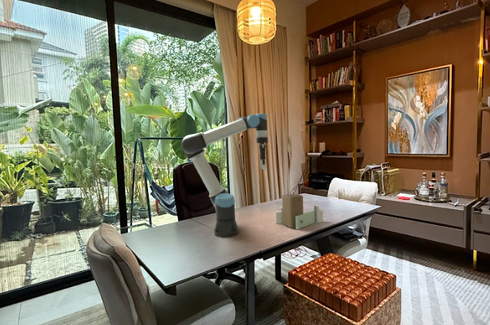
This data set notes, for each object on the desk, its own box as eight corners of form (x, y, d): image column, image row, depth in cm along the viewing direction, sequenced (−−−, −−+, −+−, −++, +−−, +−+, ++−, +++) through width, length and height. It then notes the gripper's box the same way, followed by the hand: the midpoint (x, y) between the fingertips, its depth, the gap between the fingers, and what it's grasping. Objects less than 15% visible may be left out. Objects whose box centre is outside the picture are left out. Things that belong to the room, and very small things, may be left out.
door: (313, 221, 176) (312, 210, 175) (316, 222, 173) (316, 210, 173) (295, 229, 163) (295, 216, 162) (299, 230, 161) (299, 217, 160)
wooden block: (304, 226, 168) (303, 195, 167) (291, 229, 164) (290, 197, 162) (294, 222, 177) (294, 192, 176) (282, 224, 173) (281, 194, 171)
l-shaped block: (276, 223, 176) (275, 207, 175) (276, 223, 178) (275, 206, 177) (323, 222, 175) (322, 205, 174) (322, 221, 177) (321, 205, 176)
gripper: (269, 136, 165) (270, 170, 166) (266, 137, 190) (267, 166, 191) (257, 136, 165) (258, 170, 167) (255, 137, 190) (257, 167, 191)
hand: (263, 168), depth 179 cm, fingers open, 13 cm apart
